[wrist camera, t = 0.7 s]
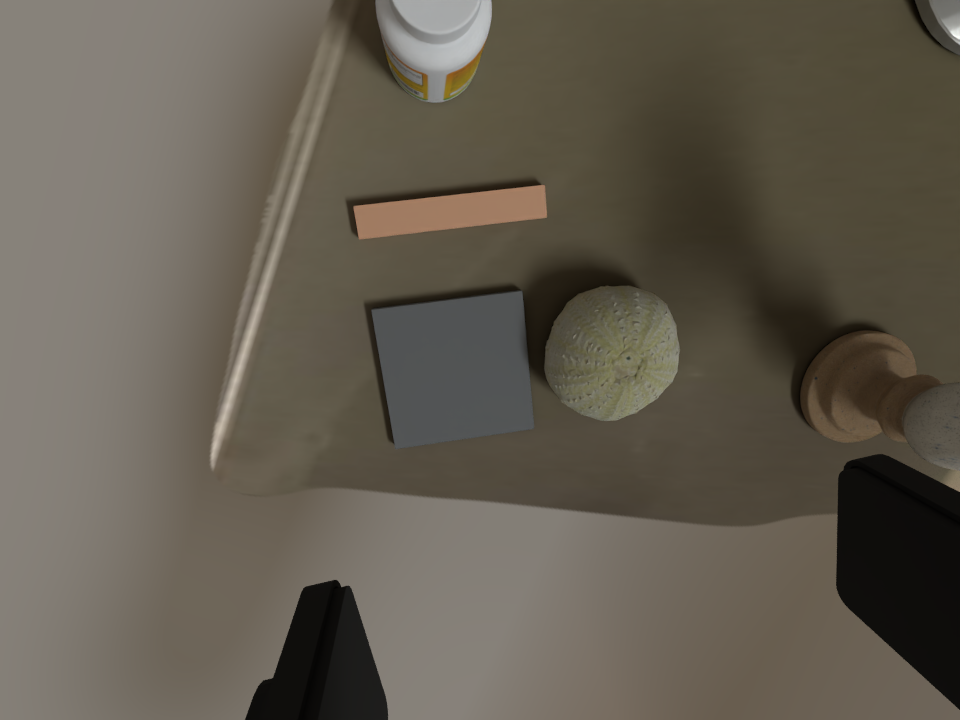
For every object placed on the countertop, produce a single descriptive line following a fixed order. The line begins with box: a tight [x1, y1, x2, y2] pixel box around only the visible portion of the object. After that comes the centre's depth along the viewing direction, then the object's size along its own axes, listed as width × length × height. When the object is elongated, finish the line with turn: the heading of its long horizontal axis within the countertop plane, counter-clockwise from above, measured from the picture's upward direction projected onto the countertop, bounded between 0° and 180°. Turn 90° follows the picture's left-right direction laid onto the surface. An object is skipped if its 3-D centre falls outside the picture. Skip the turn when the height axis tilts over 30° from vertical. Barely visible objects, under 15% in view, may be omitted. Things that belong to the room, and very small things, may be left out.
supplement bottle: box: [375, 0, 492, 103], centre depth 25 cm, size 5×5×10 cm
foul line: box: [353, 185, 547, 239], centre depth 32 cm, size 12×2×1 cm, turn 96°
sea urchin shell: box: [544, 285, 680, 421], centre depth 34 cm, size 9×8×8 cm
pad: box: [371, 290, 534, 449], centre depth 35 cm, size 10×10×1 cm
